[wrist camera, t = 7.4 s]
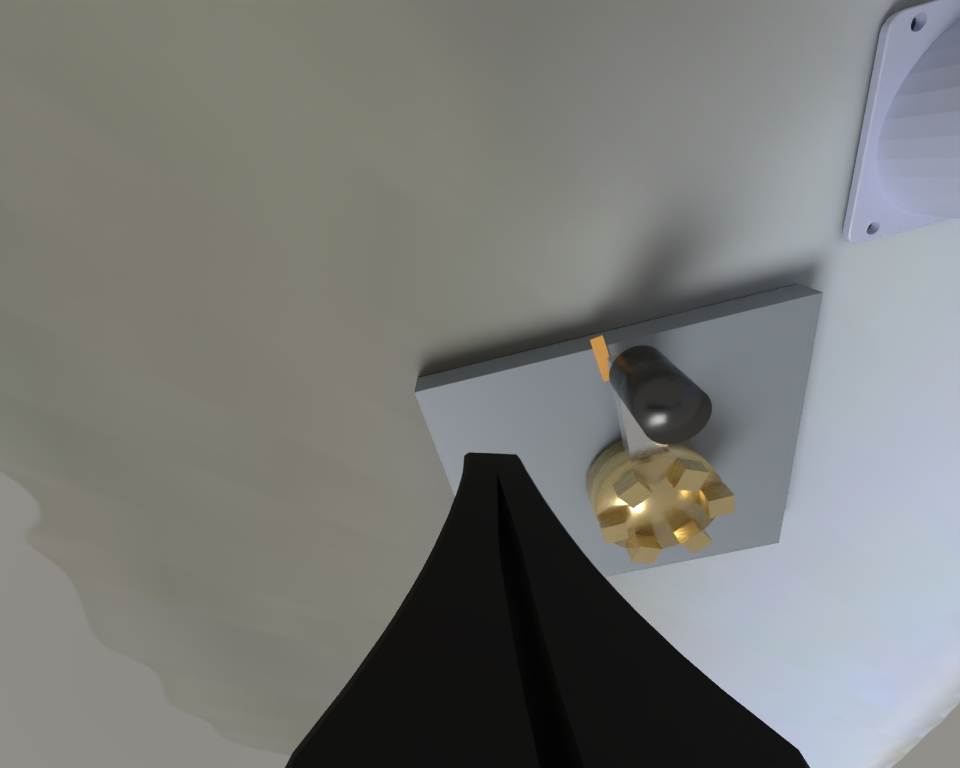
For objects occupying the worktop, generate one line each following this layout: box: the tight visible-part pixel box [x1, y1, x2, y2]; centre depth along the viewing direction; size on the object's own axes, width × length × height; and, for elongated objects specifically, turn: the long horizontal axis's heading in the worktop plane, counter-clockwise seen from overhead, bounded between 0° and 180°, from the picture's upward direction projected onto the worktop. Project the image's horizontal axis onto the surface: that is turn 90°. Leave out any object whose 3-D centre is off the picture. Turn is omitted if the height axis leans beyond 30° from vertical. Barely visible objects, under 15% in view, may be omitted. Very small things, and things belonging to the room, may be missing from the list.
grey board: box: [415, 284, 823, 577], centre depth 23 cm, size 19×18×2 cm
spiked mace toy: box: [586, 345, 735, 564], centre depth 18 cm, size 12×6×5 cm, turn 18°
